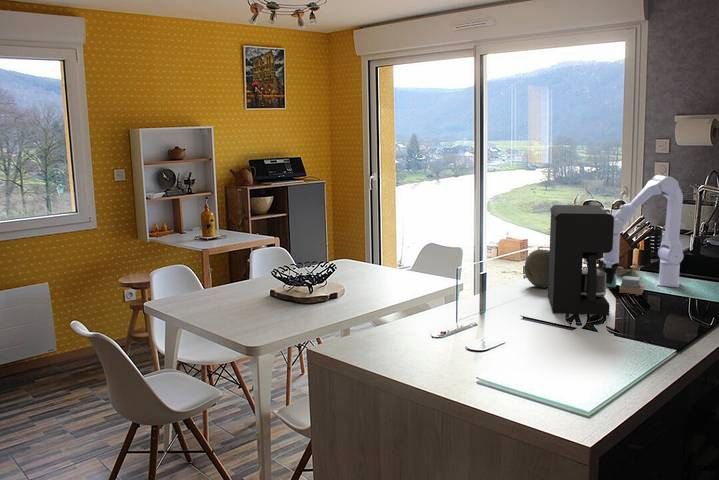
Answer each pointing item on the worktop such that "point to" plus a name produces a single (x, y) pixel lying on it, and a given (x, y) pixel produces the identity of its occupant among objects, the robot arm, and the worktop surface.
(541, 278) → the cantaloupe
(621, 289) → the walnut slab
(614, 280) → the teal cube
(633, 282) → the grey square block
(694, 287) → the worktop surface
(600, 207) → the coffee maker
